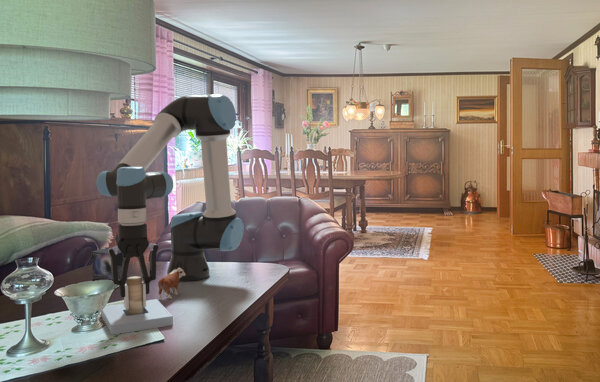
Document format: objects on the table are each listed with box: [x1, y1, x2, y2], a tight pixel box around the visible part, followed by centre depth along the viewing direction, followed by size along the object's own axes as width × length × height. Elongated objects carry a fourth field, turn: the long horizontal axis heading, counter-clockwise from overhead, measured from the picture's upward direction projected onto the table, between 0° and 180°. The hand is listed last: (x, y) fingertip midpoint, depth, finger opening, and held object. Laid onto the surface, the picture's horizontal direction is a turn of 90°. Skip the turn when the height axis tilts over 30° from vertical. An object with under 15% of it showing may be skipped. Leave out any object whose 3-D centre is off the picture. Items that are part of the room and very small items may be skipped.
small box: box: [91, 247, 128, 280], centre depth 203 cm, size 11×6×10 cm, turn 68°
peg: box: [126, 276, 143, 316], centre depth 158 cm, size 4×4×12 cm
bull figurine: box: [157, 268, 186, 301], centre depth 182 cm, size 4×13×8 cm, turn 161°
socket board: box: [100, 298, 174, 336], centre depth 158 cm, size 18×16×2 cm
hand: (135, 306), depth 158 cm, fingers closed on peg, 4 cm apart
